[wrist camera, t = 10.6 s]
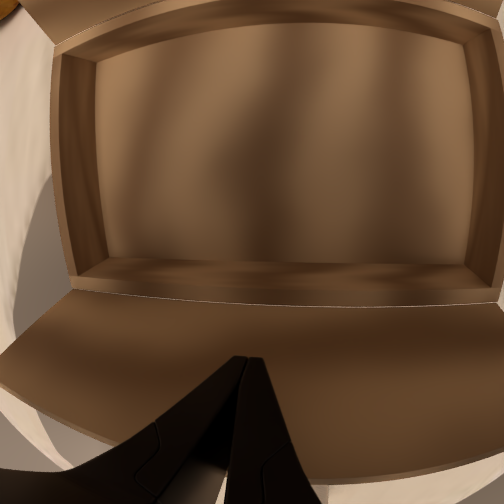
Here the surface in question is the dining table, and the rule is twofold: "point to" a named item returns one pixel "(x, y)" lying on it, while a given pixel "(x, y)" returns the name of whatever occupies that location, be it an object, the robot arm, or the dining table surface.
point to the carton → (283, 153)
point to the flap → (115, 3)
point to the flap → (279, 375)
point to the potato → (7, 7)
